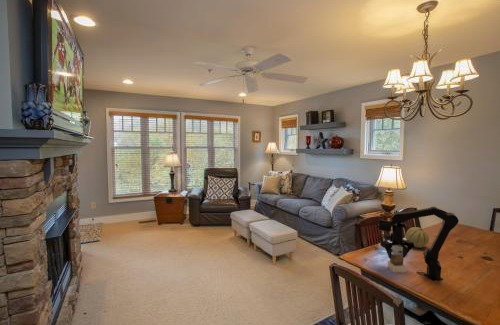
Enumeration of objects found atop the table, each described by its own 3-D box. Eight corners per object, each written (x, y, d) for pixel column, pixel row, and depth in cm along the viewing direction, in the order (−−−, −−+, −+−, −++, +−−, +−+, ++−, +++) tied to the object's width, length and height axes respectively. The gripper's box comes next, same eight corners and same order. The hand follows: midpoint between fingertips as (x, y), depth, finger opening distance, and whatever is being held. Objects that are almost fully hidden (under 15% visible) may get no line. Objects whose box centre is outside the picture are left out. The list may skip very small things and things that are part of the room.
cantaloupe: (408, 241, 199) (408, 222, 198) (430, 246, 189) (431, 227, 188) (402, 246, 189) (403, 227, 188) (426, 252, 179) (427, 232, 177)
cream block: (405, 272, 152) (405, 266, 151) (393, 272, 152) (393, 266, 152) (399, 267, 159) (399, 261, 158) (387, 267, 159) (388, 260, 159)
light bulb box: (407, 255, 174) (408, 240, 173) (396, 254, 175) (397, 239, 175) (401, 249, 185) (402, 234, 184) (391, 248, 186) (392, 234, 185)
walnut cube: (403, 265, 153) (403, 257, 152) (395, 265, 152) (395, 257, 152) (397, 261, 158) (397, 253, 157) (389, 261, 157) (390, 254, 157)
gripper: (402, 228, 163) (401, 251, 164) (375, 229, 161) (374, 252, 162) (415, 234, 151) (414, 259, 153) (386, 235, 150) (385, 260, 151)
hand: (396, 257), depth 155 cm, fingers open, 9 cm apart
